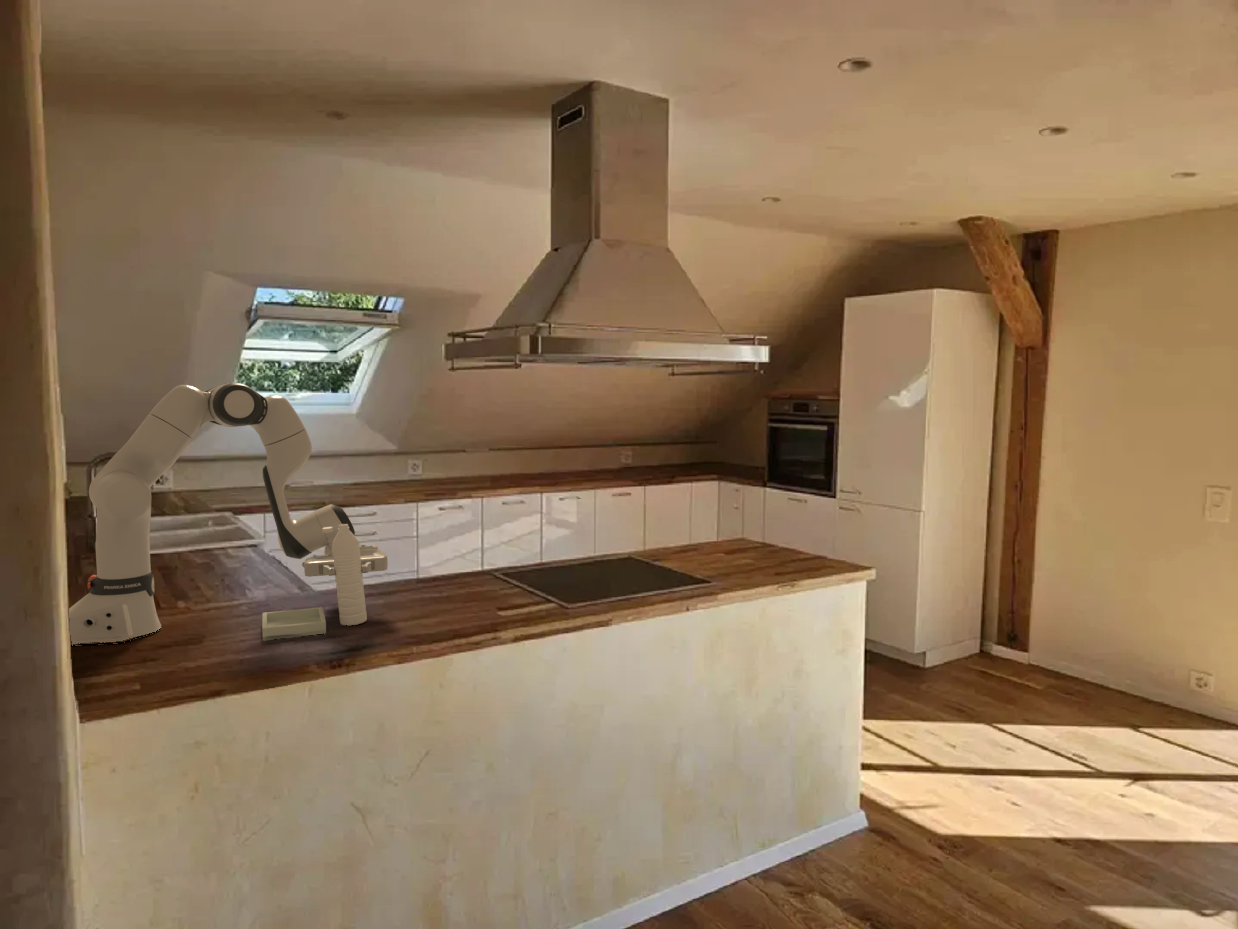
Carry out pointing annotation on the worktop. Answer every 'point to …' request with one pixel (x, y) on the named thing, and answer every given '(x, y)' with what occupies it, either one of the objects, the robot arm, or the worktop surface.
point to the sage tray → (293, 623)
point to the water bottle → (348, 576)
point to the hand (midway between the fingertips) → (348, 571)
